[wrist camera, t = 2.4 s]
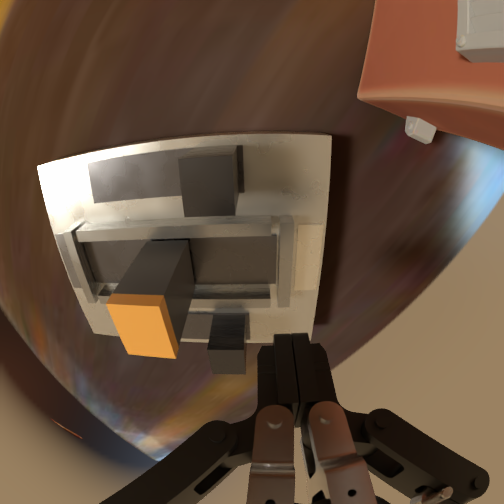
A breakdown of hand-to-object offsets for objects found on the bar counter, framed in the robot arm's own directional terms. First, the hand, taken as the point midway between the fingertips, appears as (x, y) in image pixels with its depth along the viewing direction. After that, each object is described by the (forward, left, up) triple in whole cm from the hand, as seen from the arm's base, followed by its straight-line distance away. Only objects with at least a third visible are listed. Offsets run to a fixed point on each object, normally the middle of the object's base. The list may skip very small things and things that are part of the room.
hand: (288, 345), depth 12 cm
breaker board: (0, -7, -9) cm, 12 cm away
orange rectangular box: (-16, +9, -9) cm, 21 cm away
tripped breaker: (0, -7, -7) cm, 10 cm away
